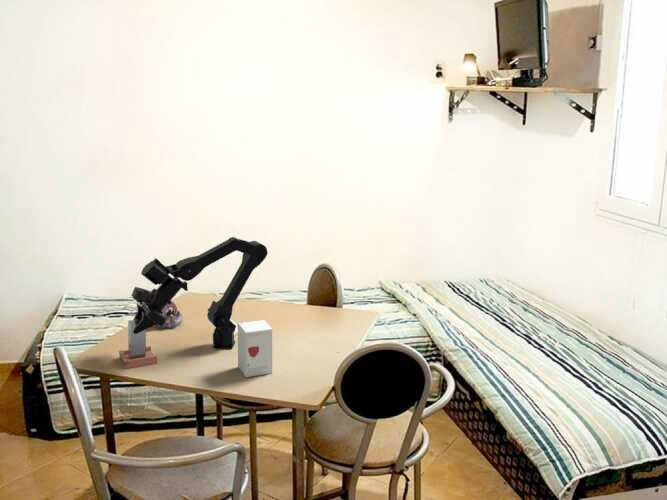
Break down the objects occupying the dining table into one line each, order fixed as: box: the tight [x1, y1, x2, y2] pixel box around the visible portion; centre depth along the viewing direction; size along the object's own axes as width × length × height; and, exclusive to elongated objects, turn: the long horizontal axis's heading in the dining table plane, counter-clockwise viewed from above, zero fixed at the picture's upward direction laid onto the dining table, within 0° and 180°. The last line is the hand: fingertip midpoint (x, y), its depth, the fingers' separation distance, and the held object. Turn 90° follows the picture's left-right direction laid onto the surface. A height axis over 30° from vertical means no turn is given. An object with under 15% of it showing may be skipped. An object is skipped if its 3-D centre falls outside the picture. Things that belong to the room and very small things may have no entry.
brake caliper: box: [156, 299, 183, 329], centre depth 234 cm, size 11×11×12 cm
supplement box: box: [237, 319, 273, 378], centre depth 196 cm, size 9×9×15 cm
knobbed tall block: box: [127, 319, 147, 360], centre depth 201 cm, size 4×5×13 cm
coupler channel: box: [119, 345, 158, 370], centre depth 203 cm, size 10×10×2 cm
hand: (132, 330), depth 200 cm, fingers closed on knobbed tall block, 5 cm apart
